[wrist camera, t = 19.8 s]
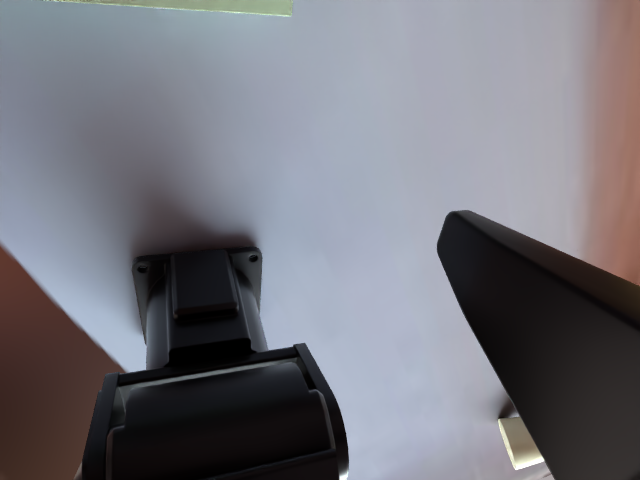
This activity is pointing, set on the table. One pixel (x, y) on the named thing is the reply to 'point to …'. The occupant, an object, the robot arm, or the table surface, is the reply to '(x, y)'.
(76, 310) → the table surface
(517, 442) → the flower vase
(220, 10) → the tray
